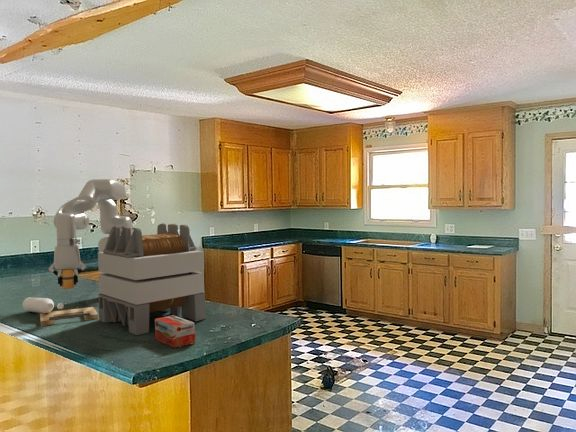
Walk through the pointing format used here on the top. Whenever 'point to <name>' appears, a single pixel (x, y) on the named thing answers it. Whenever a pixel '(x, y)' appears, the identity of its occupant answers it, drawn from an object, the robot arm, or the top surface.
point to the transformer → (150, 276)
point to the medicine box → (174, 331)
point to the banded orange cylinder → (68, 279)
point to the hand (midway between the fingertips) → (68, 284)
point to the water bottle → (39, 305)
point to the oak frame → (68, 315)
